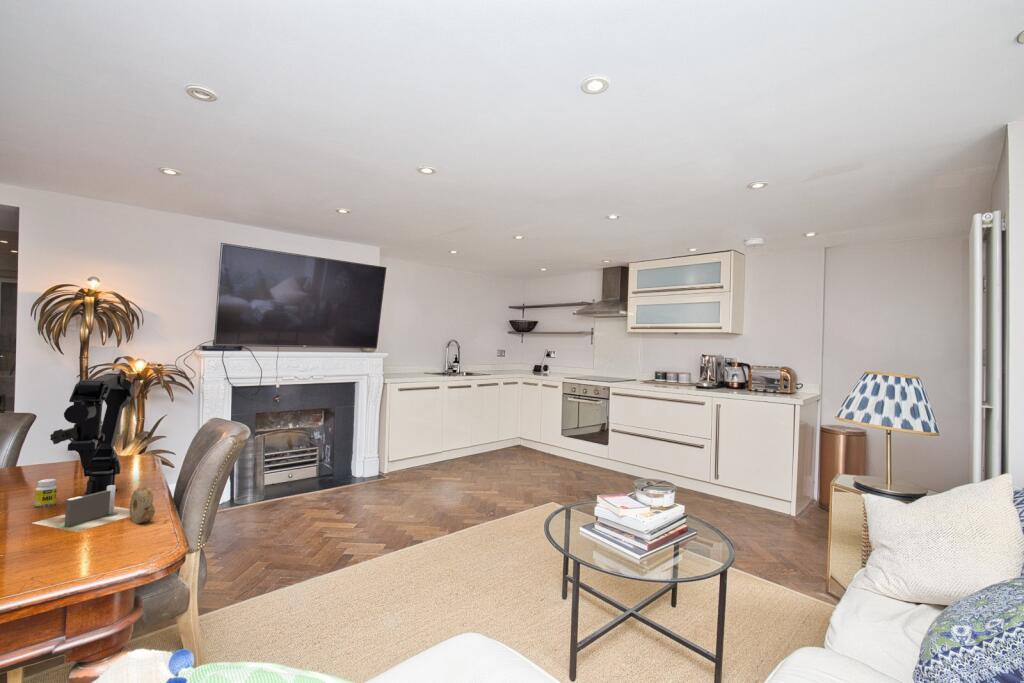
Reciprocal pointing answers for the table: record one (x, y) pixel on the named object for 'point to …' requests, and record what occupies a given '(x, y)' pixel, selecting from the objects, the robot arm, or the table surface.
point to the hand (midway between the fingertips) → (85, 468)
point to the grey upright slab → (90, 506)
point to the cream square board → (60, 522)
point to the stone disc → (142, 505)
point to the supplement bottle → (45, 493)
